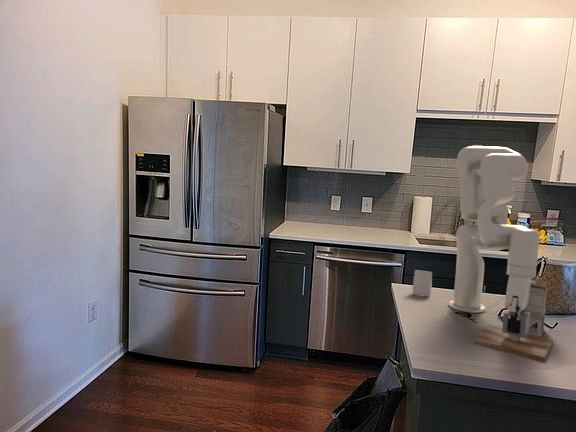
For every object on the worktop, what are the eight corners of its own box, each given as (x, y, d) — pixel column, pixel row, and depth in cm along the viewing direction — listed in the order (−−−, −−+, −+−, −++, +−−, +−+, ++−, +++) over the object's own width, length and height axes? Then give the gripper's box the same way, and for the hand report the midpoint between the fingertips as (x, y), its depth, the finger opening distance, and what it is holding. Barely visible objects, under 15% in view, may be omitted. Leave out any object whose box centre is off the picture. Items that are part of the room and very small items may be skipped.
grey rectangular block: (429, 297, 172) (431, 273, 171) (412, 294, 175) (414, 270, 174) (430, 295, 175) (432, 271, 174) (414, 292, 178) (415, 269, 177)
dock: (488, 328, 140) (490, 314, 139) (552, 344, 128) (554, 329, 128) (474, 342, 127) (476, 327, 127) (544, 361, 116) (545, 345, 116)
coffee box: (522, 324, 145) (526, 277, 143) (544, 328, 141) (549, 281, 139) (518, 332, 137) (523, 283, 135) (541, 337, 134) (546, 287, 132)
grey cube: (506, 327, 131) (508, 308, 131) (528, 332, 128) (530, 313, 127) (502, 332, 127) (503, 313, 126) (524, 338, 123) (526, 317, 122)
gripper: (513, 264, 134) (508, 319, 136) (500, 273, 121) (494, 334, 123) (540, 268, 130) (535, 325, 131) (530, 277, 116) (524, 341, 118)
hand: (515, 329), depth 127 cm, fingers closed on grey cube, 6 cm apart
